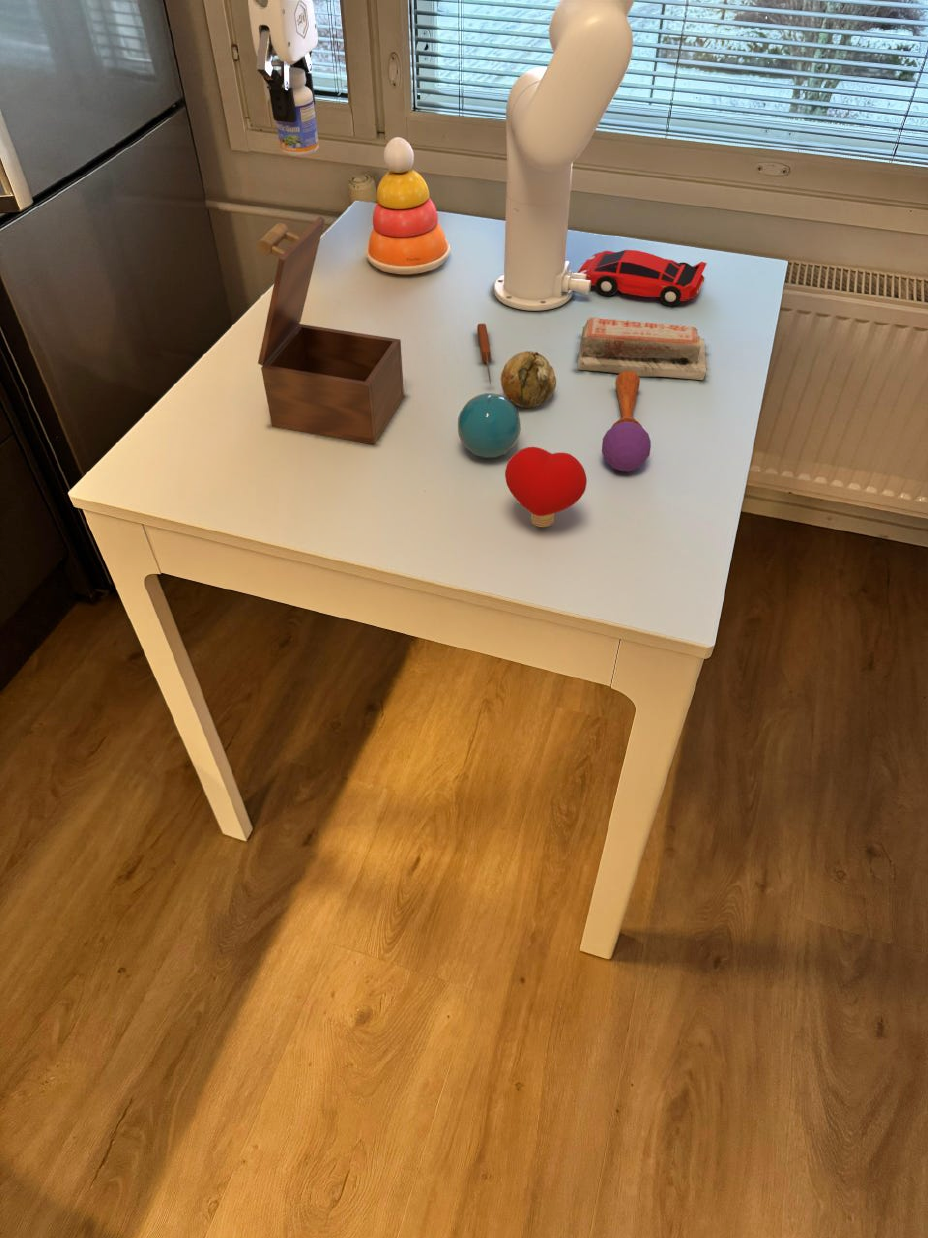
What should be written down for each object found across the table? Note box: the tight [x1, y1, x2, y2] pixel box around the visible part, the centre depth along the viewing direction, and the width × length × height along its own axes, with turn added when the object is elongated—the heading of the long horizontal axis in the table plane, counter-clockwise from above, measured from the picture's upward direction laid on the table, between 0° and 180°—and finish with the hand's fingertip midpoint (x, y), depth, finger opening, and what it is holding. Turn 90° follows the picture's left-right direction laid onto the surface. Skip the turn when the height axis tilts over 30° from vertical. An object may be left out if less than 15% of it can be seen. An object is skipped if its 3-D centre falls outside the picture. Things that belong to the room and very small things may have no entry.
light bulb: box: [504, 446, 588, 528], centre depth 104 cm, size 9×7×10 cm
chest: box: [260, 323, 405, 446], centre depth 121 cm, size 15×12×9 cm
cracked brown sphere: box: [500, 350, 557, 409], centre depth 123 cm, size 8×8×8 cm
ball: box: [457, 392, 522, 459], centre depth 114 cm, size 8×8×8 cm
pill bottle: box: [275, 67, 320, 157], centre depth 124 cm, size 5×5×10 cm
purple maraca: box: [601, 371, 652, 472], centre depth 118 cm, size 6×6×20 cm
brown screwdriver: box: [476, 323, 492, 386], centre depth 132 cm, size 16×1×2 cm, turn 4°
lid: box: [256, 216, 326, 367], centre depth 113 cm, size 15×12×5 cm
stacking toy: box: [365, 136, 451, 275], centre depth 147 cm, size 14×14×20 cm
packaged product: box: [577, 316, 707, 381], centre depth 131 cm, size 18×5×10 cm
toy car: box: [577, 249, 708, 308], centre depth 146 cm, size 10×20×5 cm, turn 72°
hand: (294, 111), depth 124 cm, fingers closed on pill bottle, 5 cm apart
